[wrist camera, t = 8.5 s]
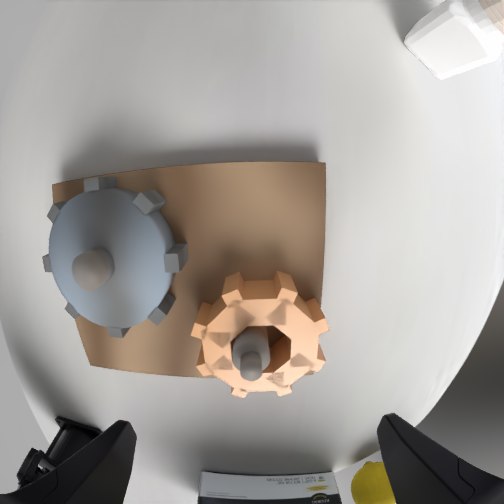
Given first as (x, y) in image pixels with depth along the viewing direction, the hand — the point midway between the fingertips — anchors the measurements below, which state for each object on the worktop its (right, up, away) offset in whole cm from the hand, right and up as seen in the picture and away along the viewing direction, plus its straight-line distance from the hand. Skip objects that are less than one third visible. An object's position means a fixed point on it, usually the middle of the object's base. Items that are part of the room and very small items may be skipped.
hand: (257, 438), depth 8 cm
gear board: (-4, +5, +8) cm, 10 cm away
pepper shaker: (+12, +20, +4) cm, 24 cm away
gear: (0, +2, +8) cm, 8 cm away
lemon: (+13, -18, +15) cm, 27 cm away
